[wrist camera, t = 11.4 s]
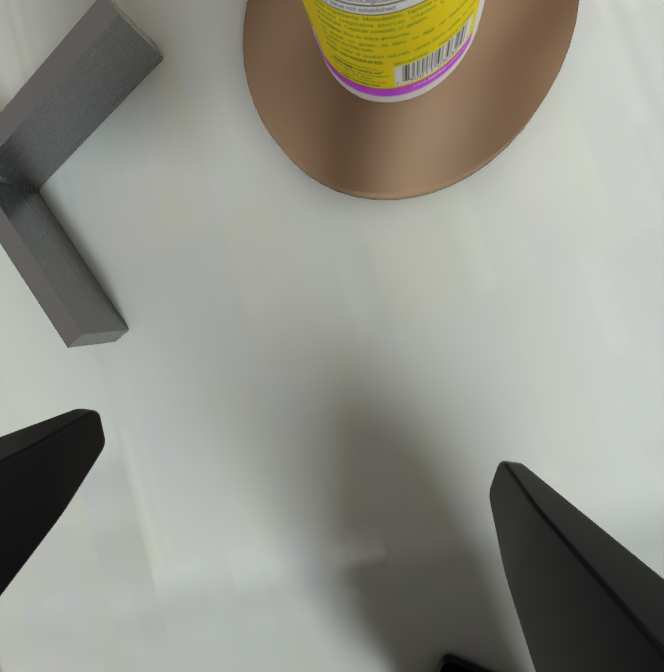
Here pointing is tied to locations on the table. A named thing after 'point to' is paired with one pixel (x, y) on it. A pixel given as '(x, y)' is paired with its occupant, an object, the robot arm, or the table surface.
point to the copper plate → (409, 115)
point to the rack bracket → (52, 151)
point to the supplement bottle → (393, 43)
